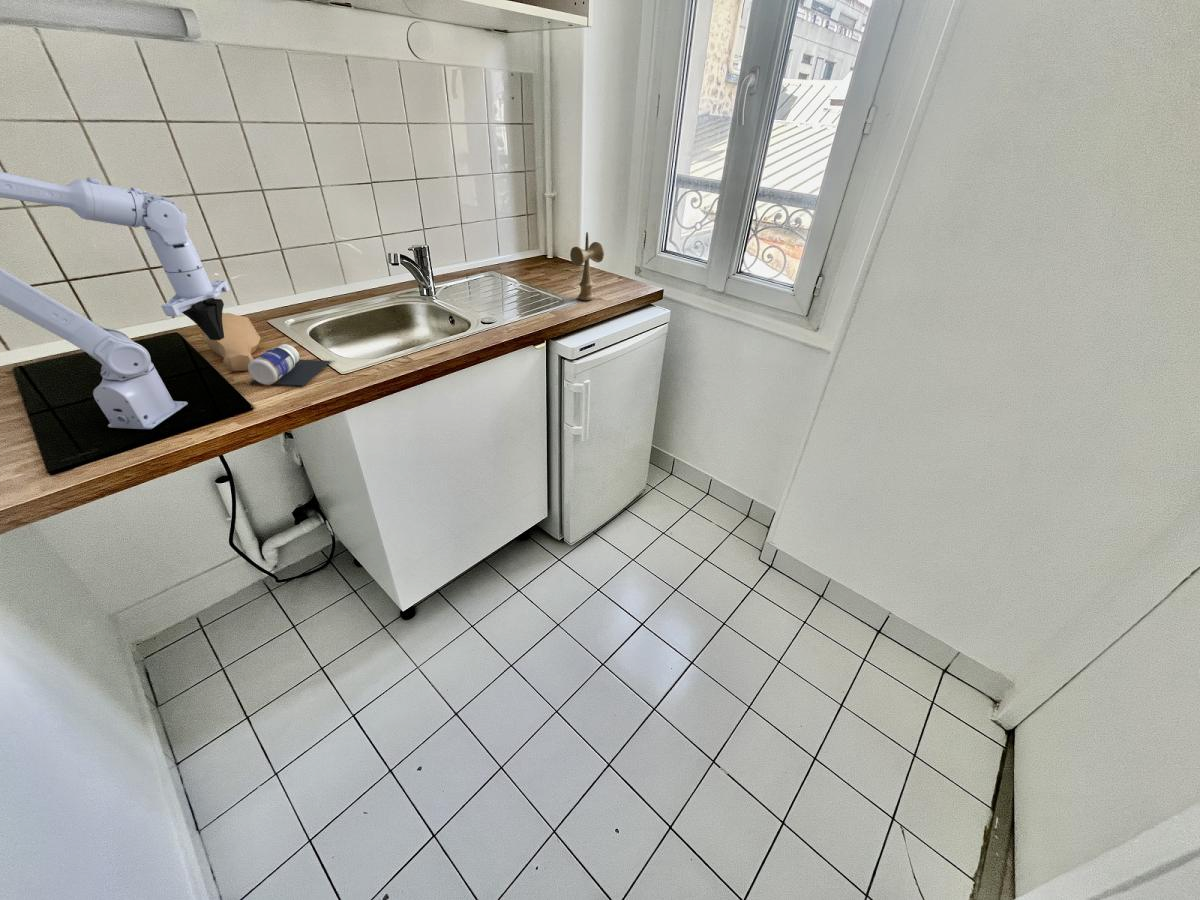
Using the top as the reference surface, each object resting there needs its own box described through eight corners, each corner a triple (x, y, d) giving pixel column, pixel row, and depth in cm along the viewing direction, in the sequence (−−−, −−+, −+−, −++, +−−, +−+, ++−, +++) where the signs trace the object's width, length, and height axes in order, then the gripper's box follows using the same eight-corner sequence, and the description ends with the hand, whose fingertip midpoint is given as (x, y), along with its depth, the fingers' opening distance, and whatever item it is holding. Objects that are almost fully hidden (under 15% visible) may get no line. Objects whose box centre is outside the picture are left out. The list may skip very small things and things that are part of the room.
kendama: (603, 298, 156) (605, 231, 145) (581, 304, 150) (582, 235, 139) (590, 293, 159) (591, 228, 148) (568, 299, 154) (568, 232, 142)
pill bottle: (243, 358, 98) (273, 339, 106) (250, 383, 101) (278, 363, 110) (272, 363, 98) (299, 343, 107) (278, 387, 102) (304, 367, 110)
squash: (256, 338, 122) (250, 304, 117) (274, 377, 111) (269, 341, 106) (202, 341, 116) (193, 305, 111) (216, 383, 105) (207, 344, 100)
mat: (302, 386, 102) (301, 385, 102) (250, 384, 103) (250, 382, 102) (330, 362, 112) (329, 360, 112) (283, 360, 112) (282, 358, 112)
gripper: (176, 281, 82) (212, 355, 90) (231, 258, 94) (259, 325, 102) (135, 279, 82) (175, 353, 90) (195, 257, 94) (226, 324, 102)
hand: (217, 338), depth 96 cm, fingers closed
